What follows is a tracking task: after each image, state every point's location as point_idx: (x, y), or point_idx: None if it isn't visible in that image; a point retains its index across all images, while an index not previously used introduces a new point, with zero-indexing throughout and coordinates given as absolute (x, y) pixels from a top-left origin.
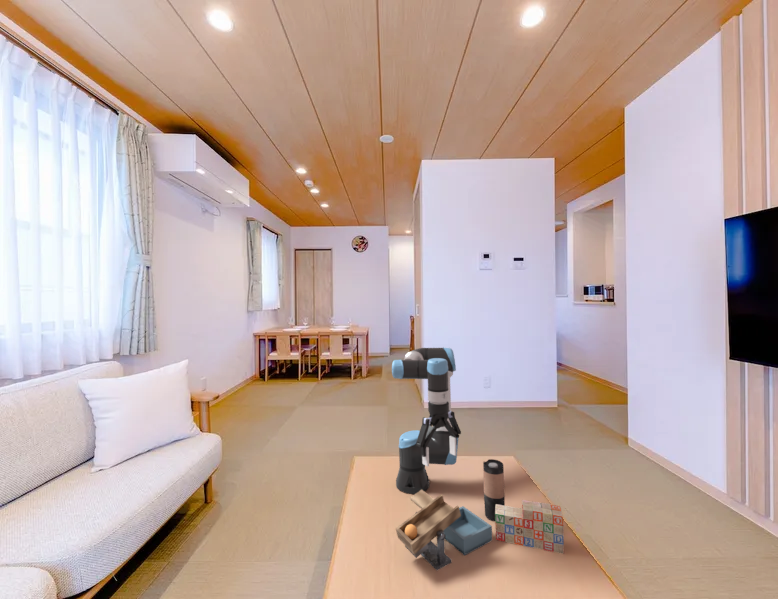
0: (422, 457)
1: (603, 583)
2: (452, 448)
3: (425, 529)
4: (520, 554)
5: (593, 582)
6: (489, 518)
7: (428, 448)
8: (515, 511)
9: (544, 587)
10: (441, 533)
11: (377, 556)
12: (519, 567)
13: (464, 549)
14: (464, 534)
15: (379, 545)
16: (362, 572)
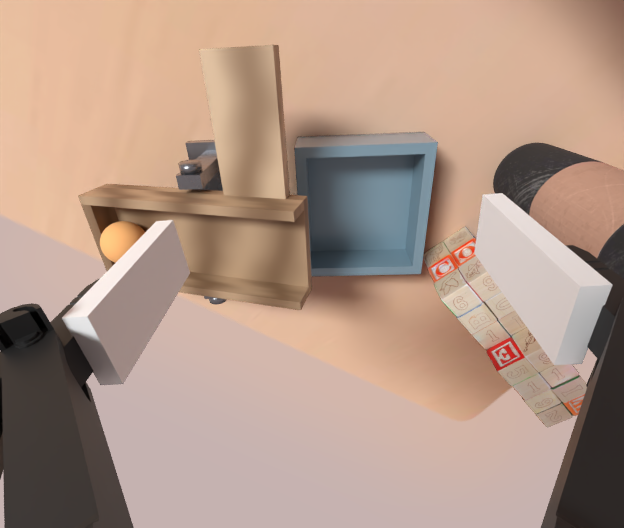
0: (132, 248)
1: (473, 412)
2: (500, 256)
3: (183, 245)
4: (424, 313)
5: (462, 405)
6: (494, 183)
7: (126, 375)
8: (504, 321)
9: (380, 377)
10: (213, 298)
11: (71, 133)
12: (386, 333)
13: None
14: (357, 207)
15: (86, 88)
16: (20, 167)
